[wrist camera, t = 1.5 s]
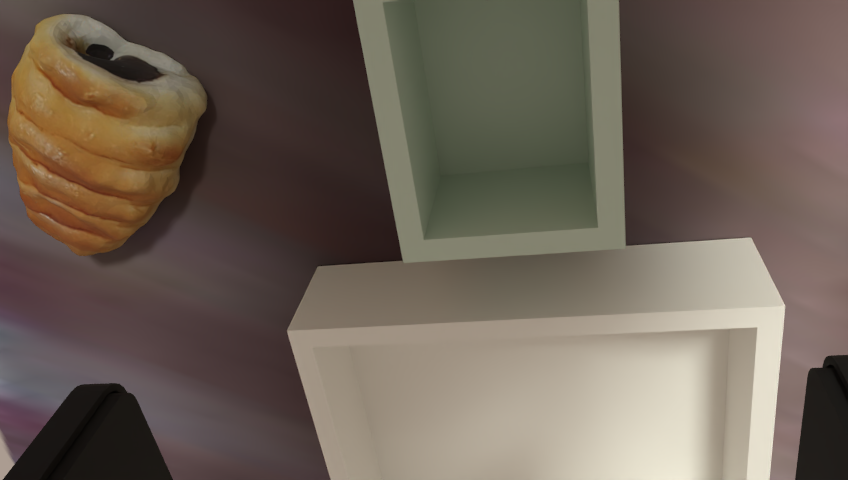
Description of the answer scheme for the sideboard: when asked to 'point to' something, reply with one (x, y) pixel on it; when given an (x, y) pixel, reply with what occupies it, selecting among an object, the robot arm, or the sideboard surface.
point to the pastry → (97, 131)
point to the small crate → (498, 124)
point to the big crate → (546, 365)
